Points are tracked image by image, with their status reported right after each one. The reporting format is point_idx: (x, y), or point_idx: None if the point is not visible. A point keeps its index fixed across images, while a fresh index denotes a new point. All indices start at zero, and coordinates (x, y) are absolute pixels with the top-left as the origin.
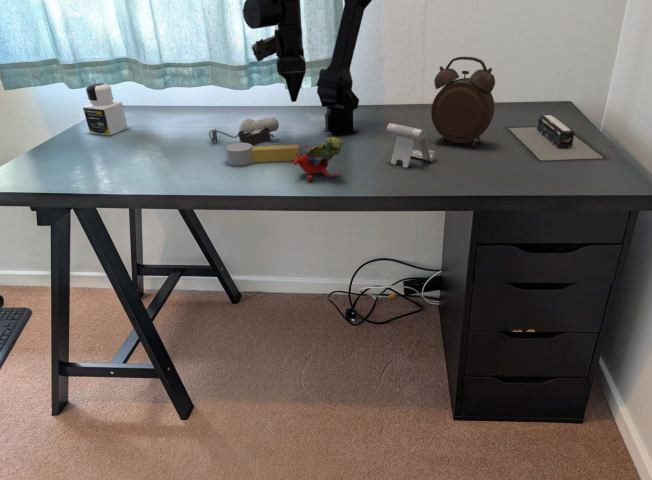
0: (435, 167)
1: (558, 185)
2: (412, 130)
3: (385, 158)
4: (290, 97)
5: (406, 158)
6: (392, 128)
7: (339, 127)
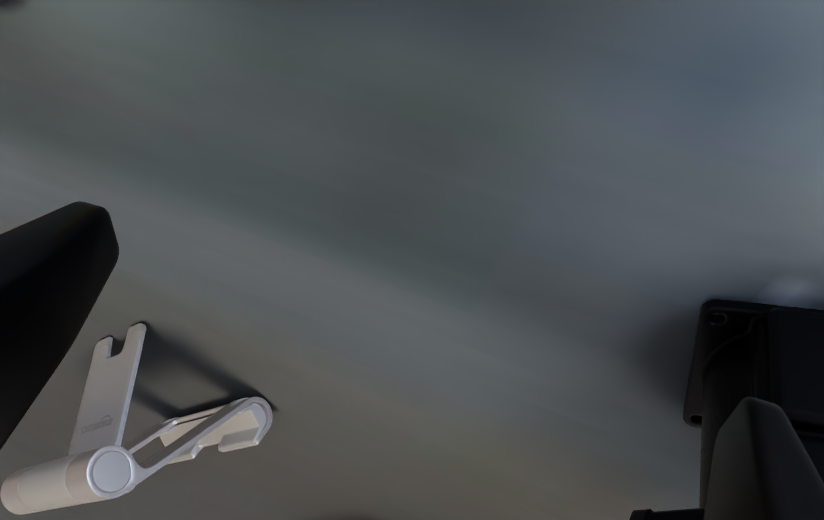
0: None
1: None
2: (19, 493)
3: (217, 335)
4: (14, 230)
5: (95, 374)
6: (70, 469)
7: (713, 381)
